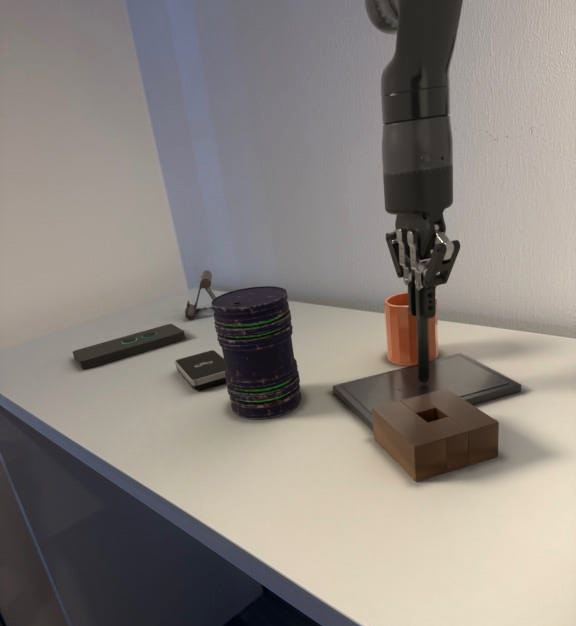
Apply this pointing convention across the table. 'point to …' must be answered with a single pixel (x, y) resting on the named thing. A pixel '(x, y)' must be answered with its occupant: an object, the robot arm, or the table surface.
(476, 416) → the pen stand
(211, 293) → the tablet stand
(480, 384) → the tablet
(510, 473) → the table surface
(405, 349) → the pen cup
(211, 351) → the external hard drive
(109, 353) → the smart home device
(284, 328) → the storage jar
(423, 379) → the stylus
